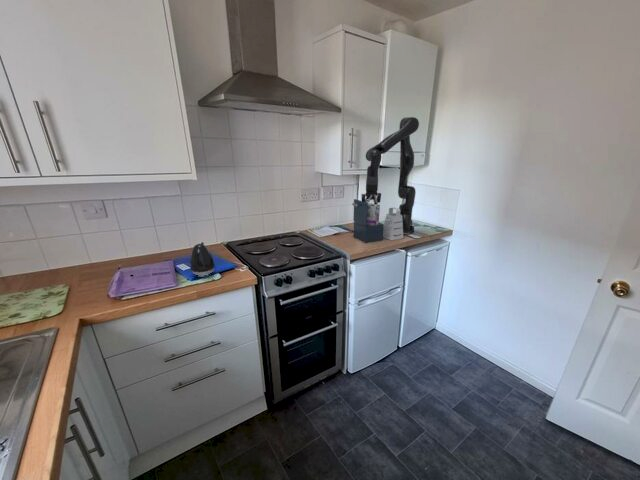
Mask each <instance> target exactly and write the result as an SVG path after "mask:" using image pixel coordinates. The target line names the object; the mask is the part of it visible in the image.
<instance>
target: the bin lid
mask: <svg viewBox="0 0 640 480" xmlns="http://www.w3.org/2000/svg"><path fill="white" fill-rule="evenodd" d="M368 203H369V202H368ZM368 203H366V202H363V201H362V200H359V199H357V198H354V199H353V202H352V206H353V222H354V221H355V222H358V223H360V224H362V225H365V226H367V210H368Z"/></svg>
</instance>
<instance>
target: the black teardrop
mask: <svg viewBox="0 0 640 480" xmlns="http://www.w3.org/2000/svg"><path fill="white" fill-rule="evenodd" d="M189 260H190V261H189V266H190V271H191V272H192V273H193V275H194V274H195V275H194V276H196V275H198V276H197V277H199V278H205V277H206V278H207V277H209V276H210V275H212V274H213V273H214V270H215V268H216V263H215V261H214V258H213V256H212V253H211V252H210V250H209V248H208V247H207V246H206V245H205V243H204V242H203V241H202V242H201V243H197V244H195V245H194V246H193V247H192V249H191V253H190V259H189ZM212 272H213V273H212ZM210 273H212V274H210ZM208 274H210V275H208ZM204 275H207V276H204Z"/></svg>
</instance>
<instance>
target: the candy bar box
mask: <svg viewBox="0 0 640 480" xmlns="http://www.w3.org/2000/svg"><path fill="white" fill-rule="evenodd" d="M380 208H381V204H374V203H369V202H368V210H367V226H373V225H379V223H380V210H381V209H380Z"/></svg>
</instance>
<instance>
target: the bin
mask: <svg viewBox="0 0 640 480" xmlns="http://www.w3.org/2000/svg"><path fill="white" fill-rule="evenodd" d="M383 228H384V223H381V222H379V225H373V226H365V225H362V224H360V223H358V222H355V221H353V234H352V235H353V238H354V239H357V240H359V241H361V242H363V243H365V244H368V243H373V242H380V241H383V239H384V237H383Z"/></svg>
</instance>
